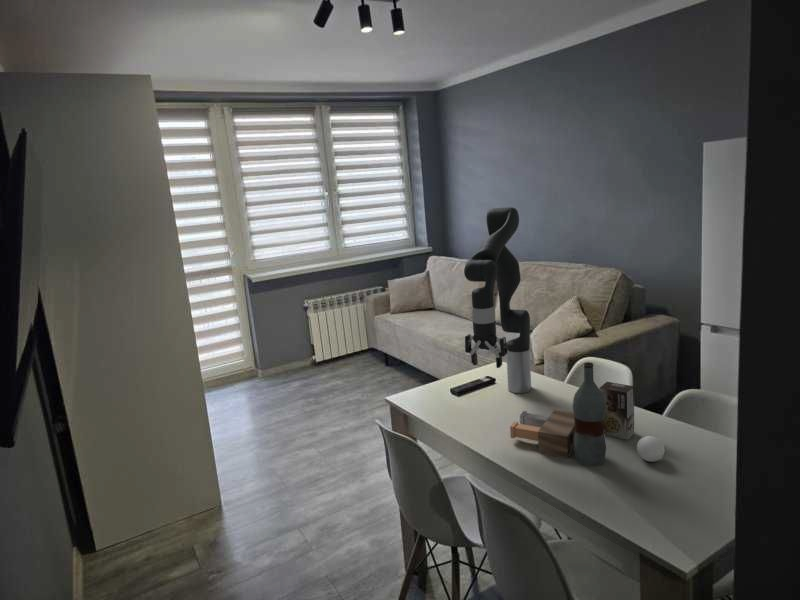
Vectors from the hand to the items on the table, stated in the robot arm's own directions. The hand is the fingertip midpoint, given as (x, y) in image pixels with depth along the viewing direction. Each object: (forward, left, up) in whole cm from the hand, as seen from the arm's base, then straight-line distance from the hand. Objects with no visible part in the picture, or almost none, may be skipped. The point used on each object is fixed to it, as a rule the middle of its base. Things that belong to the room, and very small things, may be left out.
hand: (486, 365), depth 179 cm
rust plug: (+5, +17, -21) cm, 27 cm away
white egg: (0, +50, -23) cm, 55 cm away
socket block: (0, +24, -23) cm, 34 cm away
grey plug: (-4, +17, -21) cm, 27 cm away
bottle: (+7, +35, -23) cm, 43 cm away
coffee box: (-13, +39, -23) cm, 47 cm away
